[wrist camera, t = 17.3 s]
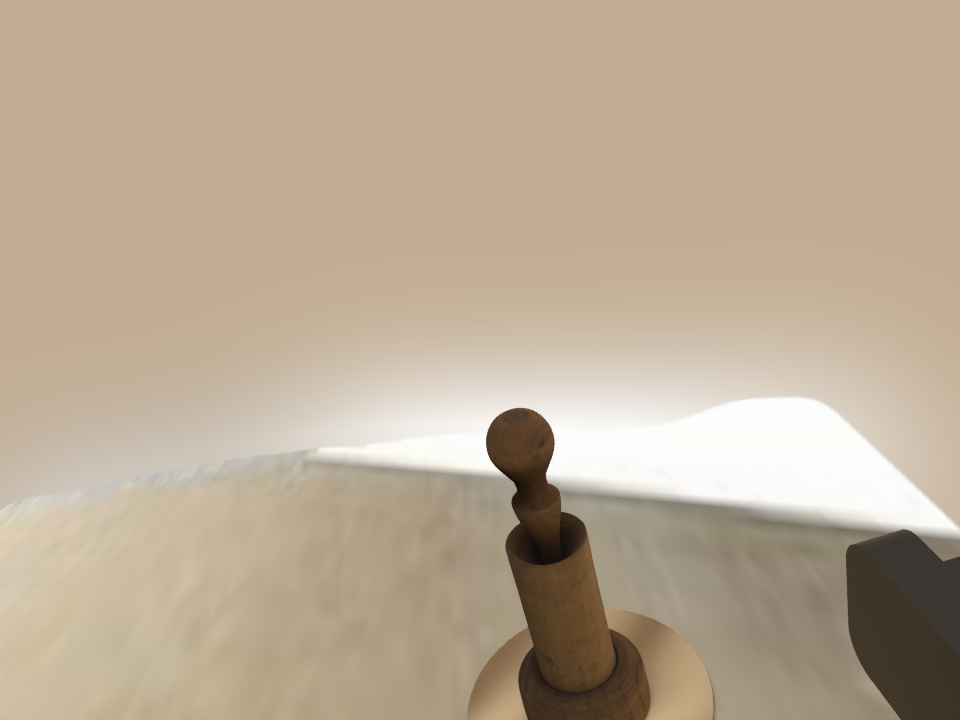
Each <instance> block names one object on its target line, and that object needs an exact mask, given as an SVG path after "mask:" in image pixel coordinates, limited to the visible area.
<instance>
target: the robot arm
mask: <svg viewBox="0 0 960 720" xmlns="http://www.w3.org/2000/svg"><path fill="white" fill-rule="evenodd" d="M846 568H847V597H848V625H849V633H850V637H851V641H852V644H853V647H854V650H855V652H856V655H857V657H858V659H859V661H860V663H861V665H862V667H863V668H864V670H865V672H866V673H867V675H868V676H869V677H870V679H871V680H872V681H873V683H874V684H875V685H876V687H877V688H878V689H879V691H880V692H881V693H882V695H883V696H884V697H885V699H886V700H887V701H888V703H889V704H890V705H891V707H892V708H893V709H894V711H895V712H896V713H897V715H898V716H899V717H900V719H901V720H960V557H957V558H953V559H950V560H947V561H942V560H941V559H940V558H939V557H938V556H937V555H936V554H935V553H934V552H933V551H932V550H931V549H930V548H929V547H928V546H927V545H926V544H925V543H924V542H923V541H922V540H921V539H920V538H919V537H918V536H916V535H915V534H914V533H912V532H911V531H908V530H904V529H903V530H900V531H896V532H893V533H890V534H886V535H883V536H880V537H876V538H873V539H870V540H866V541H863V542H860V543H856V544H853V545H850V546H849V547H848V549H847V553H846Z"/></svg>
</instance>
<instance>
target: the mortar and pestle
mask: <svg viewBox="0 0 960 720" xmlns="http://www.w3.org/2000/svg"><path fill="white" fill-rule="evenodd" d="M554 444H555V443H554V435H553V432H552V429H551V427H550V425H549V424H548V422H547V421H546V420H545V419H544V418H543V417H542V416H541V415H540V414H538V413H537V412H535V411H533V410H530V409H526V408H515V409H511V410H508V411H505V412H503V413H502V414H500V415H499V416H497V417H496V418H495V419H494V420H493V422H492V423H491V425H490V427H489V429H488V432H487V437H486V447H487V452H488V455H489V458H490V460H491V461H492V463H493V464H494V465H495V466H496V467H497V468H498V469H499V470H500V471H501V472H502V473H503V474H504V475H506V476H507V477H508V478H509V479H511V480H512V481H513V482H514V483H515V485H516V488H517V492H516V493H515V494H514V496H513V498H512V507H513V510H514V512H515V514H516V516H517V518H518V519H519V521H520V522H521V523H520V524H518V525H517V526H516V527H515V528H514V529H513V530H512V531H511V532H510V534H509V535H508V537H507V540H506V552H507V556H508V559H509V562H510V566H511V569H512V572H513V576H514V579H515V582H516V586H517V589H518V592H519V596H520V599H521V603H522V606H523V610H524V613H525V617H526V620H527V624H528V627H529V631H530V635H531V638H532V642H533V647H532V648H531V649H530V651H529V652H528V653H527V655H526V656H525V658H524V659H523V661H522V664H521V666H520V669H519V675H518V685H519V691H520V695H521V698H522V702H523V705H524V709H525V712H526V716H527V719H528V720H644V719H645V717H646V715H647V713H648V710H649V706H650V689H649V684H648V680H647V676H646V672H645V667H644V663H643V660H642V657H641V655H640V653H639V651H638V649H637V648H636V647H635V645H634V644H633V643H632V642H631V641H630V640H629V639H628V638H626V637H625V636H624V635H622V634H620V633H618V632H616V631H614V630H612V629H609V628H608V624H607V620H606V616H605V612H604V607H603V603H602V599H601V595H600V590H599V586H598V581H597V577H596V572H595V568H594V563H593V559H592V554H591V549H590V544H589V540H588V535H587V531H586V527H585V525H584V523H583V522H582V521H581V520H580V519H579V518H577V517H576V516H574V515H572V514H569V513H565V512H561V497H560V492H559V490H558V489H557V488H556V487H555V486H553V485H551V484H548V482H547V479H546V471H547V469H548V466H549V464H550V461H551V458H552V455H553V451H554Z"/></svg>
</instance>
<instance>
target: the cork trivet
mask: <svg viewBox="0 0 960 720" xmlns="http://www.w3.org/2000/svg"><path fill="white" fill-rule="evenodd" d="M604 612H605V616H606V620H607V624H608V628H609V629H612V630H614V631H616V632H618V633H620V634H622V635H624V636H625V637H626V638H628V639H629V640H630V641H631V642H632V643H633V644H634V645H635V647H636V648H637V649H638V651H639V653H640V655H641V657H642V660H643V663H644V667H645V672H646V676H647V680H648V684H649V689H650V706H649V710H648V713H647V715H646V717H645V719H644V720H714V701H713V693H712V687H711V684H710V680H709V676H708V674H707V671H706V669H705V667H704V664H703V663H702V661H701V659H700V658H699V656H698V655H697V653H696V652H695V651H694V649H693V648H692V647H691V646H690V645H689V644H688V642H686V641H685V640H684V639H683V638H682V637H681V636H680V635H679V634H677V633H676V632H675V631H673V630H672V629H670V628H669V627H667V626H665V625H663V624H662V623H660V622H658V621H656V620H654V619H651V618H648V617H646V616H643V615H640V614H636V613H632V612H628V611H621V610H614V609H604ZM532 647H533V642H532V638H531V635H530V631H529V627H528V628H527V629H525V630H523V631H521V632H520V633H518V634H517V635H516V636H514V637H513V638H512V639H510V640H509V641H508V642H506V643H505V644H504V645H503V646H502V647H501V648H500V649H499V650H498V651H497V652H496V653H495V654H494V655H493V656H492V658H491V659H490V660H489V661H488V663H487V664H486V666H485V667H484V668H483V670H482V671H481V673H480V675H479V677H478V679H477V681H476V683H475V685H474V688H473V691H472V694H471V697H470V702H469V707H468V720H528V719H527V716H526V712H525V709H524V705H523V702H522V698H521V695H520V691H519V685H518V675H519V669H520V666H521V664H522V661H523V659H524V658H525V656H526V655H527V653H528V652H529V651H530V649H531V648H532Z"/></svg>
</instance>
